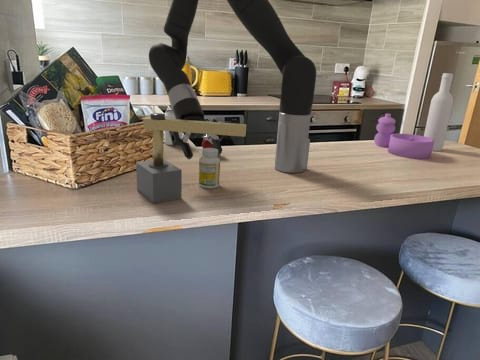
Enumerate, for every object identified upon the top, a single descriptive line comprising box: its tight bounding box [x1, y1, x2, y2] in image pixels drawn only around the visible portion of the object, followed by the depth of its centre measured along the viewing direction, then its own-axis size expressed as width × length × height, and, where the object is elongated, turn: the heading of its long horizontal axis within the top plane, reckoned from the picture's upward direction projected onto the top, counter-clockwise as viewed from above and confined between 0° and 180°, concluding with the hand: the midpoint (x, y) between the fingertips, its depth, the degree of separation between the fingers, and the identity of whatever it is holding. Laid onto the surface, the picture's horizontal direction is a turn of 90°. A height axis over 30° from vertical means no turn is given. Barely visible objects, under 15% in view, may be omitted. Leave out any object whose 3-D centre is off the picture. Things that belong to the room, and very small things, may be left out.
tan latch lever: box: [142, 112, 247, 167], centre depth 87 cm, size 23×3×12 cm, turn 84°
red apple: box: [201, 136, 213, 149], centre depth 127 cm, size 6×6×8 cm
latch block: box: [135, 159, 183, 204], centre depth 90 cm, size 7×10×7 cm
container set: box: [373, 113, 434, 160], centre depth 148 cm, size 25×15×13 cm, turn 25°
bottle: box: [423, 72, 454, 152], centre depth 152 cm, size 8×8×30 cm
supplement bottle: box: [198, 148, 221, 189], centre depth 98 cm, size 5×5×10 cm
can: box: [163, 109, 183, 146], centre depth 139 cm, size 6×6×12 cm
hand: (205, 156), depth 99 cm, fingers open, 8 cm apart
